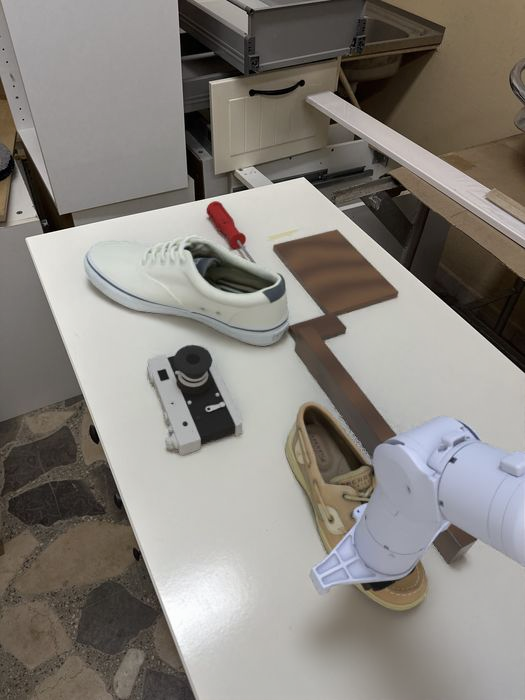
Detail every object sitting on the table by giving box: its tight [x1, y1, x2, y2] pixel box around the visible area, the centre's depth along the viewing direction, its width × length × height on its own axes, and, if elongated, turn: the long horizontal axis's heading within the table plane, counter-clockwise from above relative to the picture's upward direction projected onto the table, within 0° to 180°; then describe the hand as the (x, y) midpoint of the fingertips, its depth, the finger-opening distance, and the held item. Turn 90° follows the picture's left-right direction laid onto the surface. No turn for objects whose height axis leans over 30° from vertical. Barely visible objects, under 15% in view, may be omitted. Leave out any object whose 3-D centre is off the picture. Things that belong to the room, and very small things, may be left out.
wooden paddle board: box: [272, 229, 478, 565], centre depth 79 cm, size 60×23×4 cm, turn 27°
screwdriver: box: [206, 201, 257, 264], centre depth 95 cm, size 4×25×4 cm, turn 26°
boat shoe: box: [284, 401, 429, 611], centre depth 60 cm, size 9×25×8 cm, turn 29°
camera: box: [146, 344, 243, 456], centre depth 70 cm, size 15×7×10 cm
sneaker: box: [83, 234, 291, 347], centre depth 82 cm, size 13×35×13 cm, turn 70°
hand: (364, 579), depth 54 cm, fingers closed
